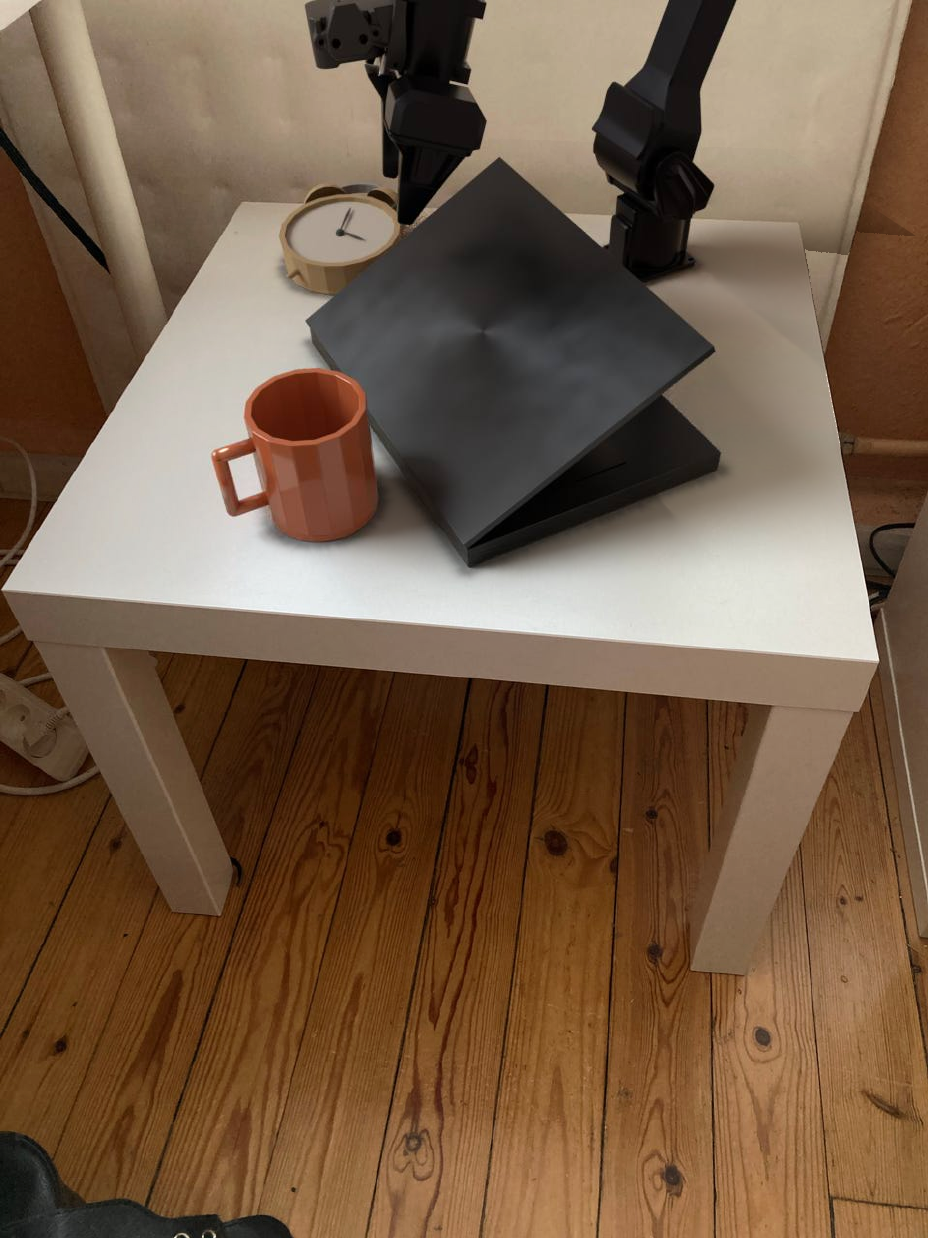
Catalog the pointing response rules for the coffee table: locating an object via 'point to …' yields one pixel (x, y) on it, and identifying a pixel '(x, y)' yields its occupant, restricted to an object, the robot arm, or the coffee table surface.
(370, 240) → the alarm clock
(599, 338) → the laptop screen
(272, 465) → the mug
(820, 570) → the coffee table surface
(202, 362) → the coffee table surface
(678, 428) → the laptop
